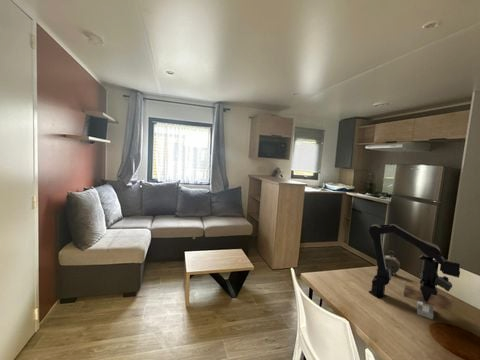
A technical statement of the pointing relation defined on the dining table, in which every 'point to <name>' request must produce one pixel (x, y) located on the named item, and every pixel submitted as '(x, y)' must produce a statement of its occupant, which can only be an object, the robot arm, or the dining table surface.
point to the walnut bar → (433, 300)
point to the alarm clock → (392, 263)
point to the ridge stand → (425, 309)
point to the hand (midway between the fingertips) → (426, 299)
